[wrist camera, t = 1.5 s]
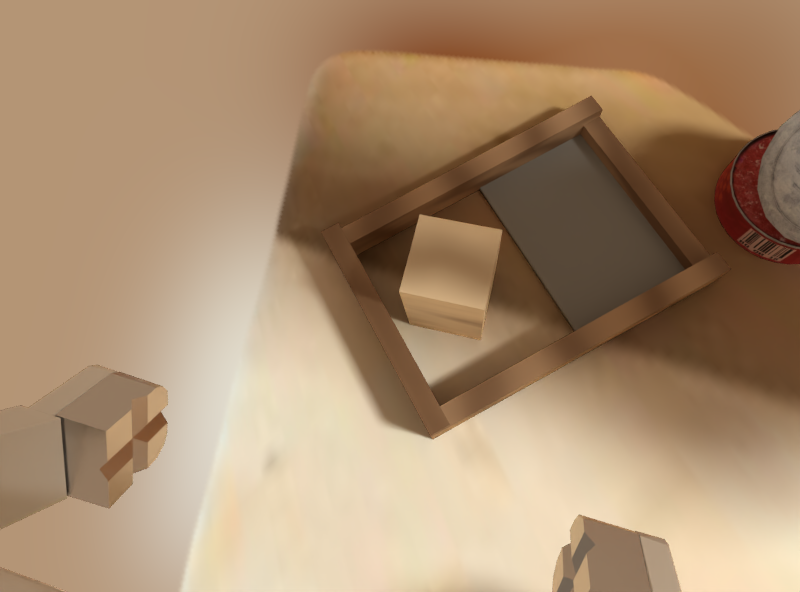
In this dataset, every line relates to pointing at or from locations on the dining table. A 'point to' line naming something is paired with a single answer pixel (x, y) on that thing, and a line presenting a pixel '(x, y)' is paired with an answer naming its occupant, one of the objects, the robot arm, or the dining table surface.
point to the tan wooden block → (450, 275)
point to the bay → (547, 247)
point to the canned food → (764, 195)
